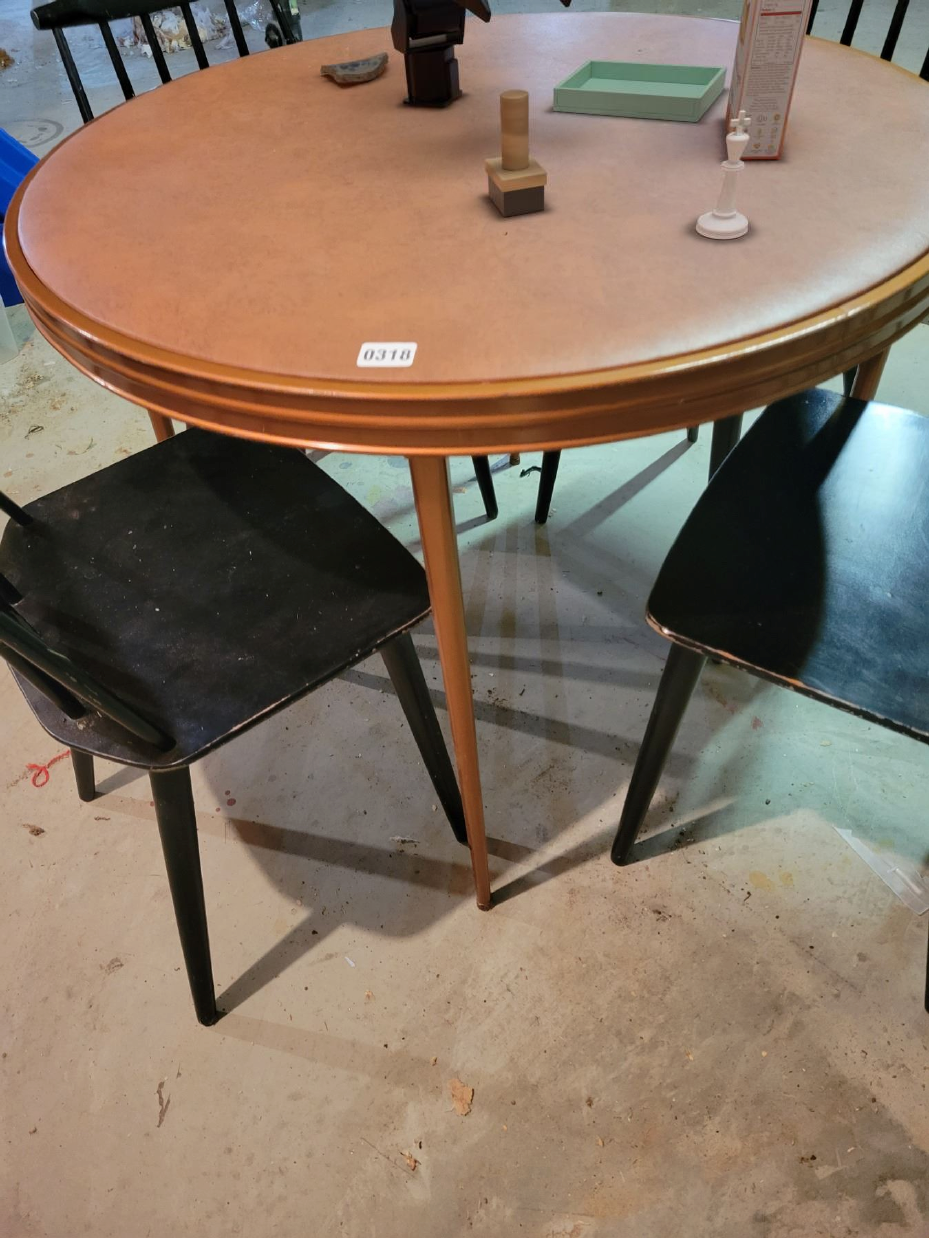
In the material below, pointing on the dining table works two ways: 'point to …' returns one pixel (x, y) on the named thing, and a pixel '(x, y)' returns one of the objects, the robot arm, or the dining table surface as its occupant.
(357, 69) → the ceramic fragment
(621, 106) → the tray
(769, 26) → the cracker box
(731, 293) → the dining table surface
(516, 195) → the scrub brush
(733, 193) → the chess piece
